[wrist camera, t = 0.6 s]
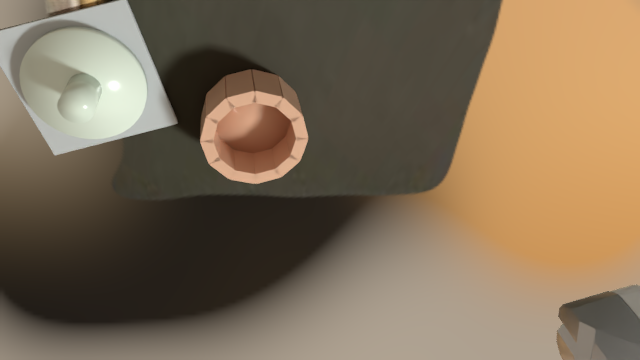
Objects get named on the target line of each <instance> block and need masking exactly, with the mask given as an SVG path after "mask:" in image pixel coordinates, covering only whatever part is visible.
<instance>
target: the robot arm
mask: <svg viewBox="0 0 640 360" xmlns="http://www.w3.org/2000/svg"><path fill="white" fill-rule="evenodd" d="M558 317H559V318H560V320H561V321H562V323H563V324H562V325H561V327H560V328H559V329H558V330H557V345H558V348H559V352H560V355H561V357H562V359H563V360H640V286H639V285H630V286H627V287H623V288H620V289H617V290H613V291H610V292H609V291H607V292H603V293H600V294H597V295H593V296H590V297H587V298H583V299H580V300H576V301H573V302H570V303H566V304H563V305H562V306H561V307H560V308H559V315H558Z"/></svg>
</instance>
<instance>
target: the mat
mask: <svg viewBox="0 0 640 360" xmlns="http://www.w3.org/2000/svg"><path fill="white" fill-rule="evenodd" d="M68 26H82V27H89V28H94V29H97V30H100V31H103V32H105V33H108V34H110V35H112V36H113V37H115V38H117V39H118V40H120V41H121V42H122V43H124V44H125V45H126V46H127V47H128V48H129V49H130V50H131V51H132V52H133V53H134V54H135V55H136V57H137V58H138V60H139V61H140V63H141V65H142V67H143V69H144V71H145V74H146V78H147V84H148V93H147V99H146V103H145V107H144V110H143V112H142V114H141V116H140V117H139V119H138V120H137V121H136V123H135V124H134V125H132V126H131V127H130V128H129V129H127V130H126V131H124V132H122V133H120V134H118V135H115V136H112V137H109V138H104V139H84V138H78V137H74V136H70V135H67V134H64V133H62V132H60V131H58V130H56V129H54V128H53V127H51V126H49V125H48V124H47V123H45V122H44V121H43V120H41V119H40V118H39V117H38V116H37V115H36V114H35V113H34V111H33V110H32V109H31V108H30V106H29V105H28V103H27V101H26V99H25V98H24V95H23V93H22V90H21V86H20V78H19V73H20V66H21V63H22V60H23V58H24V56H25V54H26V52H27V51H28V50H29V48H30V47H31V46H32V44H33V43H34V42H35V41H36V40H37V39H38V38H40V37H41V36H42V35H44V34H46V33H48V32H50V31H52V30H55V29H58V28H62V27H68ZM0 67H1V68H2V70H3V72H4V73H5V75H6V77H7V78H8V80H9V81H10V83H11V85H12V86H13V88H14V90H15V91H16V93H17V95H18V96H19V98H20V100H21V101H22V103H23V105H24V106H25V108H26V109H27V111H28V113H29V114H30V116H31V118H32V119H33V121H34V122H35V124H36V126H37V127H38V129H39V131H40V132H41V134H42V136H43V137H44V139H45V140H46V142H47V144H48V145H49V147H50V149H51V150H52V151H53V153H54V155H58V154H62V153H66V152H70V151H73V150H77V149H81V148H85V147H88V146H93V145H97V144H100V143H104V142H108V141H112V140H116V139H120V138H124V137H128V136H132V135H135V134H139V133H143V132H147V131H151V130H155V129H159V128H163V127H166V126H170V125H174V124H178V120H177V118H176V116H175V113H174V111H173V108H172V106H171V104H170V101H169V99H168V96H167V94H166V92H165V89H164V87H163V85H162V82H161V80H160V77H159V75H158V73H157V70H156V68H155V65H154V63H153V61H152V58H151V56H150V53H149V51H148V49H147V46H146V44H145V42H144V39H143V37H142V34H141V32H140V30H139V27H138V25H137V22H136V20H135V18H134V15H133V13H132V10H131V8H130V6H129V3H128V1H127V0H115V1H111V2H107V3H103V4H99V5H95V6H91V7H87V8H83V9H79V10H75V11H71V12H67V13H63V14H59V15H55V16H51V17H48V18H44V19H40V20H36V21H32V22H28V23H24V24H20V25H16V26H12V27H8V28H4V29H0Z"/></svg>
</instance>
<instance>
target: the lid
mask: <svg viewBox="0 0 640 360" xmlns="http://www.w3.org/2000/svg"><path fill="white" fill-rule="evenodd" d="M19 78H20V86H21V90H22V93H23V95H24V98H25V99H26V101H27V103H28V105H29V106H30V108H31V109H32V110H33V111H34V113H35V114H36V115H37V116H38V117H39V118H40V119H41V120H43V121H44V122H45V123H47V124H48V125H49V126H51V127H53V128H54V129H56V130H58V131H60V132H62V133H64V134H67V135H70V136H74V137H78V138H84V139H104V138H109V137H112V136H115V135H118V134H120V133H122V132H124V131H126V130H127V129H129V128H130V127H131V126H132V125H134V124H135V123H136V121H137V120H138V119H139V117H140V116H141V114H142V112H143V110H144V107H145V103H146V99H147V93H148V84H147V78H146V74H145V71H144V69H143V67H142V65H141V63H140V61H139V60H138V58H137V57H136V55H135V54H134V53H133V52H132V51H131V50H130V49H129V48H128V47H127V46H126V45H125V44H124V43H122V42H121V41H120V40H118V39H117V38H115V37H113V36H112V35H110V34H108V33H105V32H103V31H100V30H97V29H94V28H89V27H82V26H68V27H62V28H58V29H55V30H52V31H50V32H48V33H46V34H44V35H42V36H41V37H40V38H38V39H37V40H36V41H35V42H34V43H33V44H32V46H31V47H30V48H29V50H28V51H27V52H26V54H25V56H24V58H23V60H22V63H21V66H20V73H19Z"/></svg>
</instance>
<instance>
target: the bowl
mask: <svg viewBox="0 0 640 360" xmlns="http://www.w3.org/2000/svg"><path fill="white" fill-rule="evenodd" d="M307 141H308V135H307V131H306V126H305V122H304V118H303V115H302V111H301V108H300V104H299V101H298V98H297V94H296V92H295V91H294V90H293V89H292V88H291V87H290V86H289V85H288V84H287V83H285V82H284V81H283V80H282V79H281V78H280V77H279V76H277V75H275V74H271V73H266V72H262V71H258V70H254V69H252V71H251V69H249V70H245V71H241V72H237V73H234V74H230V75H226V77H225V76H224V77H223V78H222V79H221V80H220V81H219V82H218V83H217V84H216V85H215V86H214V87H213V88H212V89H211V90H210V91H209V92H208V93H207V94H206V98H205V102H204V106H203V110H202V115H201V131H200V143H201V145H202V148H203V150H204V153H205V155H206V158H207V160H208V163H209V164H210V165H211V166H212V167H213V168H215V169H216V170H217V171H219V172H220V173H221V174H223V175H224V176H225V177H227V178H228V179H230V180H235V181H241V182H247V183H253V184H255V182H256V184H258V183H261V182H265V181H269V180H273V179H277V178H280V176H281V177H282V176H283V175H284V174H286V173H287V172H288V171H289V170H290V169H292V168H293V167H294V166H295V165H296V164H297V163H299V162H300V161H301V158H302V155H303V152H304V150H305V147H306V144H307Z"/></svg>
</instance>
